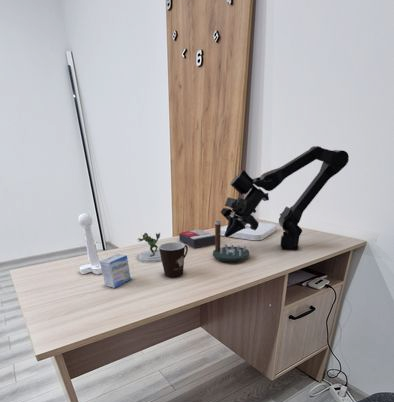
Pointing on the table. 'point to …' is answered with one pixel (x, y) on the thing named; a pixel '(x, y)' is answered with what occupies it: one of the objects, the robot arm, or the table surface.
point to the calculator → (197, 238)
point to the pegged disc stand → (227, 248)
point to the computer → (253, 231)
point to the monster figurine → (151, 254)
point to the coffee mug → (173, 258)
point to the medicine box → (115, 270)
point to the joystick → (89, 247)
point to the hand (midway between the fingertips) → (225, 236)
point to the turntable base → (231, 261)
